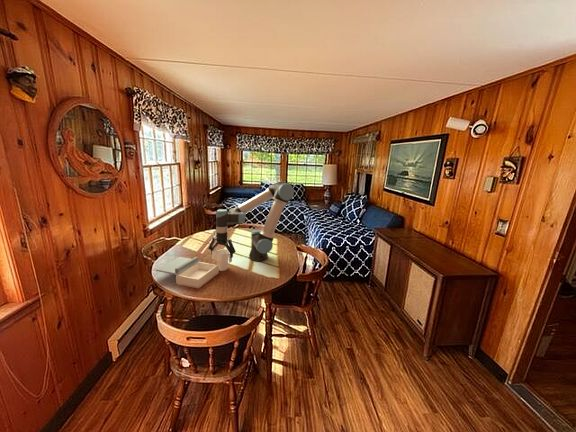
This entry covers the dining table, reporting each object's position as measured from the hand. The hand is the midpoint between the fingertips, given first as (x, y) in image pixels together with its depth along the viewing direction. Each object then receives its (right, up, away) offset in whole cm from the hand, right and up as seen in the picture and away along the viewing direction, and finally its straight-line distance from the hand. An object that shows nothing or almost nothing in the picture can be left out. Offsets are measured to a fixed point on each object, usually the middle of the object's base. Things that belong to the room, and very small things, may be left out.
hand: (221, 260), depth 170 cm
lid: (-26, -2, -11) cm, 28 cm away
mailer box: (-12, -9, -14) cm, 20 cm away
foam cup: (0, -6, +2) cm, 7 cm away
